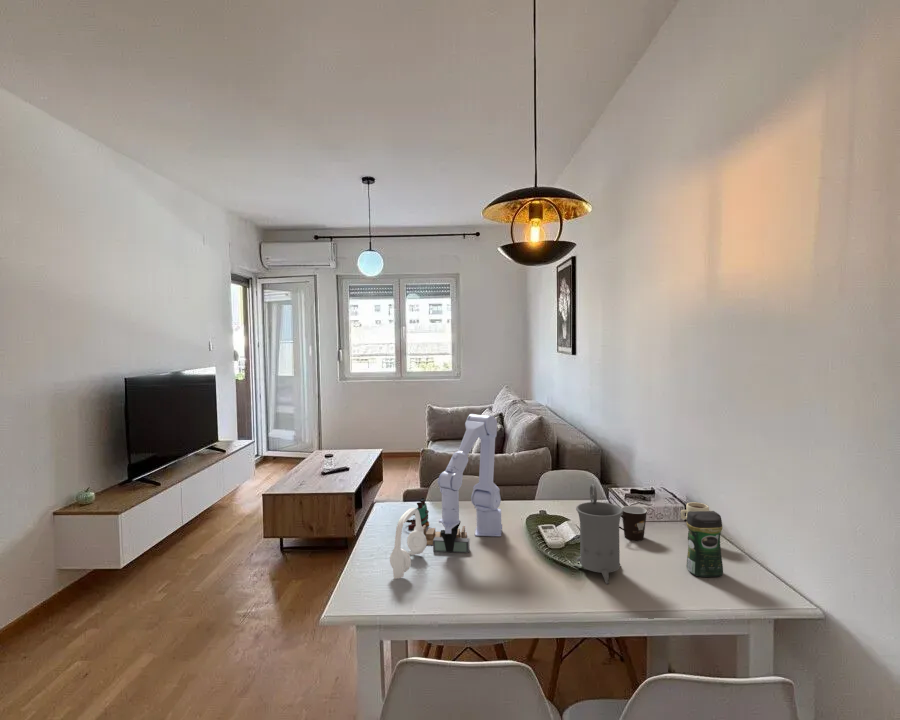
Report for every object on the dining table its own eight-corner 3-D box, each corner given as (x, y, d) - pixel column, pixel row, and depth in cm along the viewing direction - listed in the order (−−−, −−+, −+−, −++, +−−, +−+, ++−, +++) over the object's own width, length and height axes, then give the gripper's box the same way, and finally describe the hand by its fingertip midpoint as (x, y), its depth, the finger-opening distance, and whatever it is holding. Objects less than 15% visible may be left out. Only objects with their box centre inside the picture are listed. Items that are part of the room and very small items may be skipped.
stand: (466, 535, 193) (466, 524, 192) (464, 545, 183) (464, 534, 183) (423, 533, 195) (423, 523, 194) (418, 544, 185) (418, 533, 184)
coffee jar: (714, 566, 163) (714, 507, 162) (727, 578, 155) (727, 515, 154) (682, 567, 163) (682, 507, 162) (693, 578, 155) (693, 516, 154)
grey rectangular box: (469, 550, 180) (469, 538, 179) (468, 553, 176) (468, 542, 176) (435, 548, 181) (434, 536, 181) (433, 552, 178) (432, 540, 178)
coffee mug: (643, 533, 191) (643, 506, 191) (649, 542, 183) (649, 513, 182) (610, 532, 193) (610, 505, 192) (615, 541, 184) (615, 513, 184)
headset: (408, 582, 156) (406, 522, 155) (385, 579, 158) (384, 520, 157) (429, 555, 175) (428, 502, 175) (409, 553, 177) (408, 500, 177)
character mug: (710, 539, 185) (710, 502, 184) (717, 547, 178) (717, 509, 177) (678, 537, 186) (678, 501, 186) (683, 545, 179) (683, 508, 179)
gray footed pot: (633, 584, 152) (632, 498, 151) (581, 584, 152) (581, 499, 152) (614, 557, 171) (614, 481, 170) (568, 557, 171) (568, 481, 170)
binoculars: (405, 497, 207) (429, 496, 205) (408, 524, 207) (432, 523, 205) (398, 504, 198) (424, 503, 196) (401, 532, 199) (427, 531, 197)
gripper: (441, 500, 185) (442, 538, 186) (435, 514, 171) (436, 555, 171) (461, 500, 184) (462, 539, 185) (457, 514, 170) (457, 556, 171)
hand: (451, 547), depth 178 cm, fingers open, 7 cm apart
